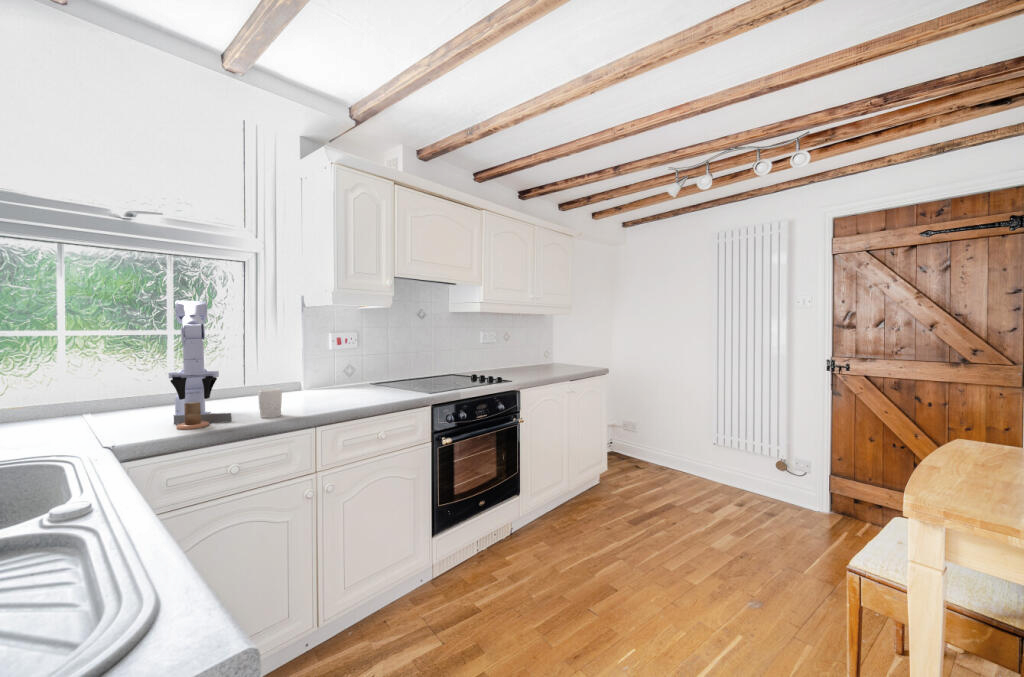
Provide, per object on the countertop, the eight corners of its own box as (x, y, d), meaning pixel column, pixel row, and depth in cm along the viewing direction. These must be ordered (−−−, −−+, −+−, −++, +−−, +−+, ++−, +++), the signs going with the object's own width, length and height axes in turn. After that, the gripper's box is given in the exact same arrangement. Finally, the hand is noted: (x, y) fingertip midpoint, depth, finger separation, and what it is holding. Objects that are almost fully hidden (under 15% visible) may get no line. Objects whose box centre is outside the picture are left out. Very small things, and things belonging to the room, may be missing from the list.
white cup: (253, 417, 163) (253, 391, 163) (272, 413, 170) (272, 388, 170) (268, 419, 160) (267, 392, 160) (287, 415, 167) (286, 389, 167)
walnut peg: (181, 424, 147) (181, 404, 147) (193, 422, 151) (193, 401, 151) (192, 425, 146) (191, 404, 146) (204, 422, 150) (203, 402, 150)
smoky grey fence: (173, 424, 153) (173, 415, 153) (175, 423, 154) (175, 415, 154) (230, 421, 156) (230, 413, 156) (231, 421, 157) (231, 412, 157)
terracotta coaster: (169, 429, 145) (169, 426, 145) (194, 423, 154) (194, 420, 154) (191, 430, 143) (191, 427, 143) (215, 424, 152) (215, 421, 152)
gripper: (162, 360, 144) (163, 401, 144) (211, 359, 146) (212, 399, 147) (175, 358, 151) (176, 398, 151) (221, 358, 153) (222, 396, 154)
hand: (194, 398), depth 150 cm, fingers open, 7 cm apart
